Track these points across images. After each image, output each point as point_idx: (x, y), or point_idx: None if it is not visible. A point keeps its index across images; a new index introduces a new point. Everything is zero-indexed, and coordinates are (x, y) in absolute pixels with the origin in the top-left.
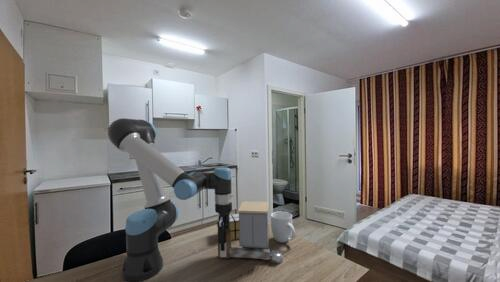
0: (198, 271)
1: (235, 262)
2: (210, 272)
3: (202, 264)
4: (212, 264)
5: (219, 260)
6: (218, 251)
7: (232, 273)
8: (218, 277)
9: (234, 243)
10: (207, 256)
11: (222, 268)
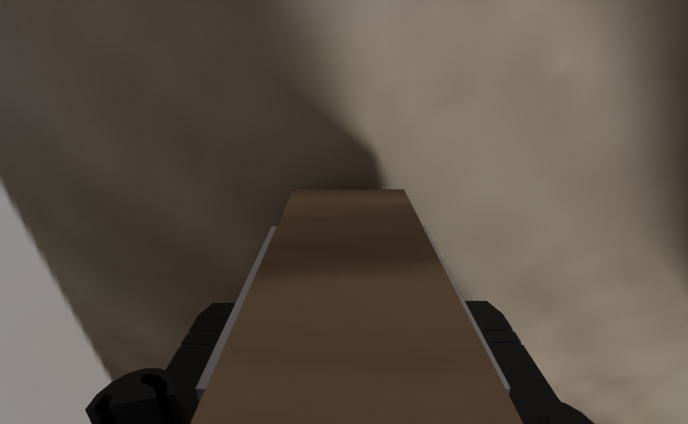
0: (16, 9)
1: None
2: (67, 163)
3: (161, 8)
4: (199, 141)
5: (287, 196)
6: (278, 227)
7: (136, 340)
8: (40, 254)
9: (630, 271)
10: (348, 13)
11: (169, 256)
